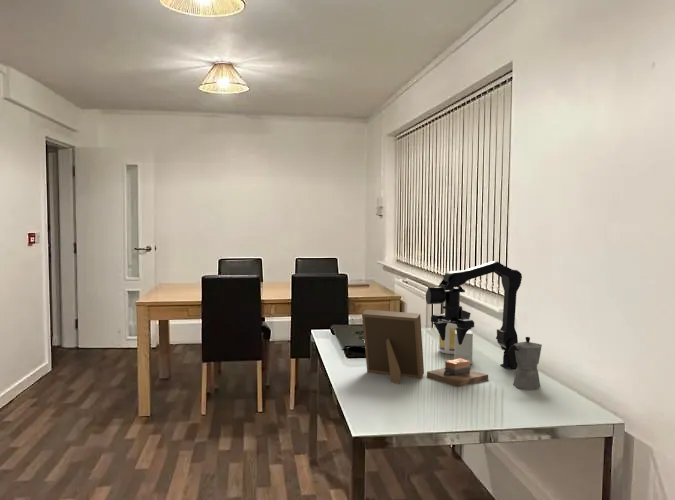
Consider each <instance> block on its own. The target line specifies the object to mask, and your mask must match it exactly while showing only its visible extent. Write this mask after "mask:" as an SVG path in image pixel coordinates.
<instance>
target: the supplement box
mask: <svg viewBox="0 0 675 500" xmlns="http://www.w3.org/2000/svg"><path fill="white" fill-rule="evenodd" d="M473 335H474V333H473V330H468V331H467V332H466V334H465V337H464V339H463V342H462V344H461V345H459V343H458V337H457V331H456V330H455V351H454V354H453V358H454V359H459V358H461V359H465V360H468V361H470V365H471V364H473V346H474V344H473V338H474V336H473ZM454 359H453V360H454Z"/></svg>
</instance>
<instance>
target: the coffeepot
mask: <svg viewBox="0 0 675 500" xmlns="http://www.w3.org/2000/svg"><path fill="white" fill-rule="evenodd" d="M542 346H543V344H540V343H536V342H531V337H529V336H526V337H525V341H521V342H518V343H516V344H514V345H512V346H511V347H510V348H509V350H508V354H509V358H510V361H511V365H512V368H515V373H514V374H515V375H514V379H513V386H514V387H515V388H516V389H520V390H525V391H535V390H536V391H537V390H539V389H540V388H541V381H540V375H539V370H538V365H540V364H539V362H540V357H541V351H542ZM514 350H515V356H516V362H517V363H518V367H517V365H515V361H514V358H513V351H514Z"/></svg>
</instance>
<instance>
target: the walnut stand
mask: <svg viewBox="0 0 675 500" xmlns="http://www.w3.org/2000/svg"><path fill="white" fill-rule="evenodd" d="M444 371H445V367H442V368H439V369H433V370H428V371H426V378H430V379H432V380H436V381H439V382H442V383H445V384H447V385H451V386H454V387H457V388H458V387H463V386H469V385H472V384H477V383H481V382H485V381H489V374H488V373H484V372H481V371H478V370H477V371H476V370H475V369H474V370H473V369H470V373H467V374H463V375H458V376H446V375H444Z"/></svg>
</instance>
